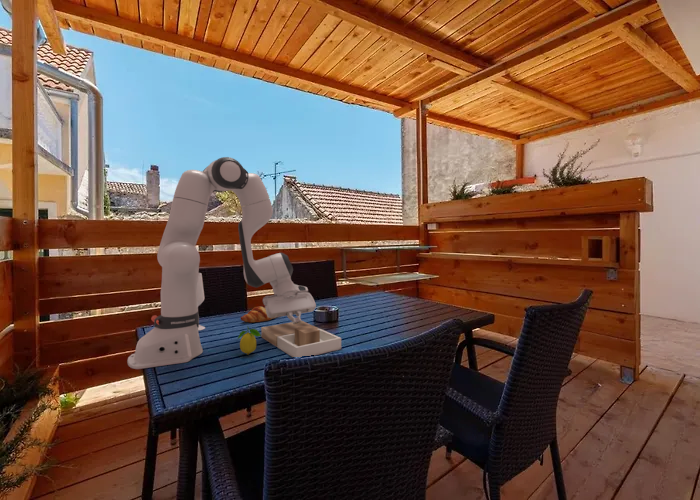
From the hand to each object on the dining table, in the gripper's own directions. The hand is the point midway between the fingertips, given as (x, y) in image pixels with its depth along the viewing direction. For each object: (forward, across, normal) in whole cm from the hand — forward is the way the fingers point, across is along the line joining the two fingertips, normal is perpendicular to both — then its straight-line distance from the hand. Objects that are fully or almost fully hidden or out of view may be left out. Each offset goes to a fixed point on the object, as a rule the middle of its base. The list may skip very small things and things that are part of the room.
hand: (297, 322), depth 134 cm
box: (+12, 0, -1) cm, 12 cm away
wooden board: (0, 0, +10) cm, 10 cm away
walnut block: (+5, 0, +1) cm, 5 cm away
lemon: (+7, -20, +4) cm, 22 cm away
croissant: (-22, +2, +34) cm, 40 cm away
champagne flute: (-24, -27, +35) cm, 50 cm away
